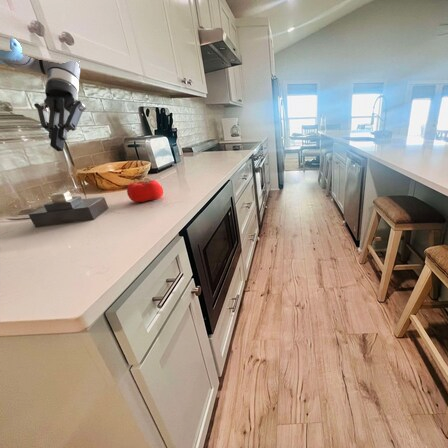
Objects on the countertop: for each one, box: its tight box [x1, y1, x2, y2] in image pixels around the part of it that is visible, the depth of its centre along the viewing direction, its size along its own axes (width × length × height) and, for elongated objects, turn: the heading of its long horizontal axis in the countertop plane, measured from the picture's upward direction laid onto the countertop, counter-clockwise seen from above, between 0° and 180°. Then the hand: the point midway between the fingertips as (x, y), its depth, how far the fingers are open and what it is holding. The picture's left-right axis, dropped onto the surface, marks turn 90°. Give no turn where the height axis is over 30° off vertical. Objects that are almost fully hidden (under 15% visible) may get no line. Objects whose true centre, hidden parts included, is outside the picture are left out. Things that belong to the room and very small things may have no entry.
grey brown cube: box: [49, 191, 73, 203], centre depth 69 cm, size 3×3×3 cm
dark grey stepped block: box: [28, 195, 109, 229], centre depth 72 cm, size 14×11×6 cm
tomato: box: [126, 179, 164, 203], centre depth 86 cm, size 10×11×6 cm
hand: (56, 148), depth 71 cm, fingers closed
